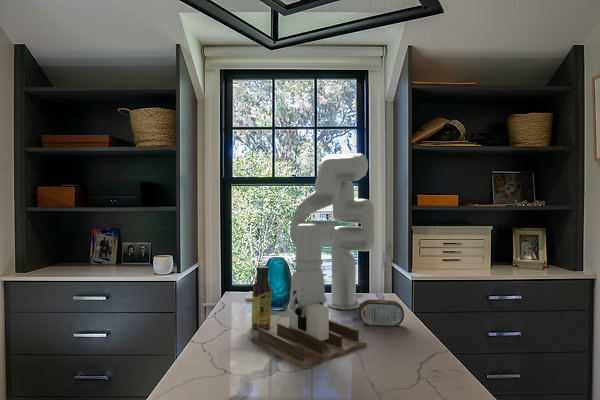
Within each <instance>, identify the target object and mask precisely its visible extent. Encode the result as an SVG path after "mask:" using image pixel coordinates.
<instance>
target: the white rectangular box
mask: <svg viewBox="0 0 600 400" xmlns="http://www.w3.org/2000/svg"><path fill="white" fill-rule="evenodd" d="M288 303H289V304H290V299H289V301H288ZM296 307H297V304H296ZM301 309H302V308H301ZM329 309H330V307H329V306H328V305H324V304H323V305H321V304H318V303H316V304H312V305H308V306H306V311H305V317H306V331H303V330H300V329H298V315H296V313H295V312H294V311H293V310H291V309H289V308H288V310H289V311H288V312H289V313H288V314H289V315H288V316H289V317H288V321H289V322H288V327H291V328H293V329H295V330H298V331H300V332H302V333H305V334H307V335H309V336H312V337H314V338H316V339H319V340H321V341H323V340H326V339H329V320H330V318H329V317H330V315H329V312H330V310H329Z"/></svg>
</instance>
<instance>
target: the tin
mask: <svg viewBox="0 0 600 400" xmlns="http://www.w3.org/2000/svg"><path fill="white" fill-rule="evenodd" d="M357 312H358V317H359V319H360V320H361V322H362V323H363V324H364V325H365V326H366V325H367V326H369V327H370V326H371V327H390V328H392V327H393V328H394V327H398V326H399V325H401V324H402V323H403V321H404V318H405V311H404V308H403V306H402V305H401V304H400V303H399V302H397V301H396V300H391V299H390V300H383V299H366V300H364V301H362V302H361V304H360V306H359V307H358V311H357Z"/></svg>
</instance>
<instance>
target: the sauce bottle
mask: <svg viewBox="0 0 600 400" xmlns="http://www.w3.org/2000/svg"><path fill="white" fill-rule="evenodd" d="M269 269H270V268H269V266H266V265H258V266H256V281H255V283H254V285H253V288H252V296H251V297H252V299H251V300H252V301H251V302H252V303H251V326H252V328H253V329H255V330H258V328H263V329H265V330H267V329H268V328H269V327H270V326H271V322H272V321H271V320H272V319H271V318H272V289H271V286H270V283H269V282H270V281H269V272H270V271H269Z"/></svg>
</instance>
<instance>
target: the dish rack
mask: <svg viewBox="0 0 600 400" xmlns="http://www.w3.org/2000/svg"><path fill="white" fill-rule="evenodd" d="M250 340H251V342H253V343H255V344H256V345H259V346H260V347H262V348H264V349H266V350H267V351H270V352H271V353H273V354H275V355H276V356H278V357H281V358H282V359H284V360H286V361H288V362H289V363H291V364H293V365H295V366H297V367H299V368H301V369H303V370H305V369H308V368H310V367H313V366H315V365H318V364H320V363H323V362H326V361H329V360H332V359H334V358H336V357H339V356H343V355H345V354H347V353H350V352H353V351H355V350H357V349H361V348H363V347H366V346H367V342H368V341H365V340H362V339H360V330H359V329H357V328H353V327H351V326H348V325H346V324H343V323H339V322H337V321H334V320H331V319H329V339H326V340H323V341H321V340H319V339H316V338H314V337H312V336H309V335H307V334H305V333H302V332H300V331H298V330H295V329H293V328H291V327H289V325H286V324H283V323H282V322H277V323H276V330H273V331H268V330H267V329H263V328H258V329H257V335H256V336H255V335H254V336H252V337H251V338H250Z"/></svg>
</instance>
